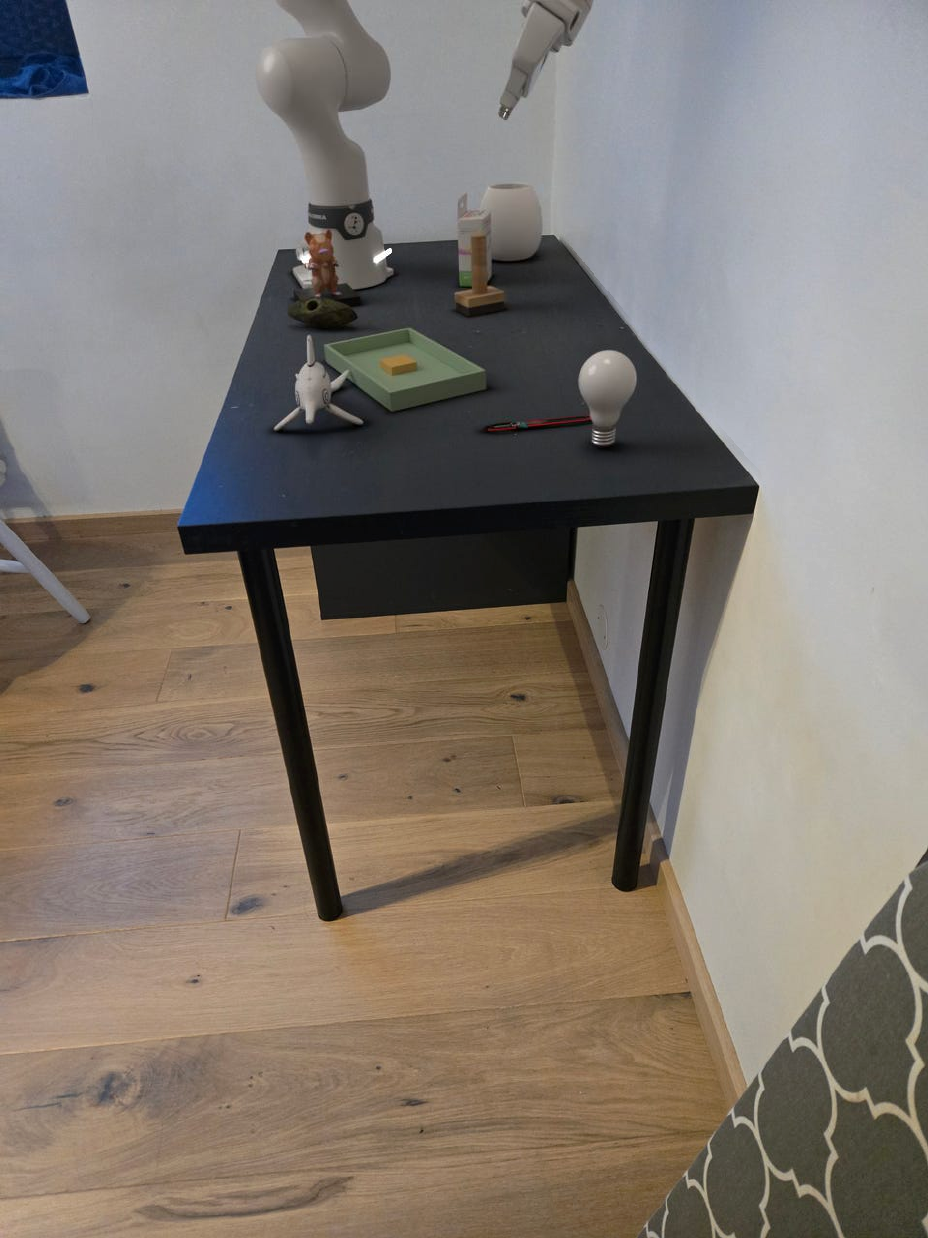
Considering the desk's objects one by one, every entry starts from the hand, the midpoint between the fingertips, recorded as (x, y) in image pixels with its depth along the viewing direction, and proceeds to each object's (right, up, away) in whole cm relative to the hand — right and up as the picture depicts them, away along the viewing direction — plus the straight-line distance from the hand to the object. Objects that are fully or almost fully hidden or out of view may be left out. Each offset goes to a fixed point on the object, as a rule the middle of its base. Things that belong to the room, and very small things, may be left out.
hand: (502, 111), depth 122 cm
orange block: (-15, -40, -5) cm, 43 cm away
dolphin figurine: (-24, -50, -17) cm, 58 cm away
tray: (-15, -41, -6) cm, 44 cm away
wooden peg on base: (-3, -22, +19) cm, 29 cm away
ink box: (-3, -11, +34) cm, 36 cm away
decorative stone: (-29, -27, +14) cm, 42 cm away
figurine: (-31, -18, +27) cm, 45 cm away
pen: (+3, -52, -22) cm, 57 cm away
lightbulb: (+10, -56, -27) cm, 63 cm away
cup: (+4, -1, +49) cm, 49 cm away
